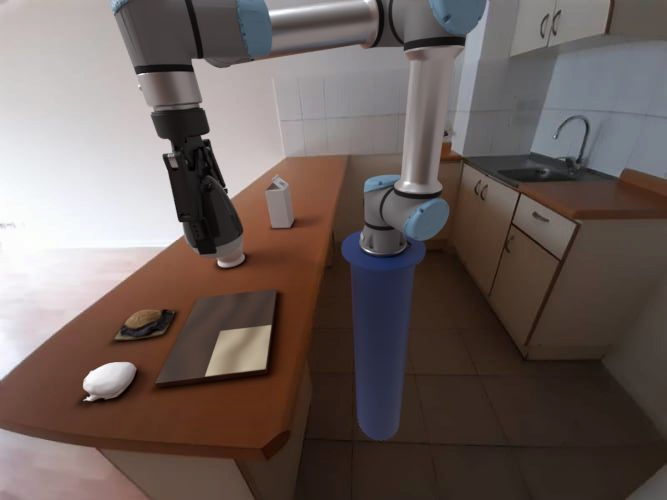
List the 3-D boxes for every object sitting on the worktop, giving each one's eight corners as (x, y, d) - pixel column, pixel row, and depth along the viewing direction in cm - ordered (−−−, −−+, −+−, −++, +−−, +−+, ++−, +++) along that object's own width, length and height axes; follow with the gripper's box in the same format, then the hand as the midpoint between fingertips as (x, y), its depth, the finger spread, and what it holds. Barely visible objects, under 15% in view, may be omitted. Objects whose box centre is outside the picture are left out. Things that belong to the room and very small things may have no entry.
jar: (217, 255, 92) (203, 213, 84) (249, 250, 93) (238, 208, 86) (212, 272, 83) (195, 227, 75) (247, 267, 84) (235, 222, 77)
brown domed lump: (113, 343, 61) (105, 332, 59) (133, 316, 68) (126, 305, 66) (163, 337, 62) (156, 325, 60) (177, 311, 69) (171, 299, 67)
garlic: (78, 404, 49) (66, 391, 47) (103, 370, 55) (94, 358, 53) (124, 400, 49) (114, 387, 47) (144, 367, 55) (136, 354, 53)
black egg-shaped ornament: (209, 272, 48) (178, 186, 40) (183, 254, 54) (153, 176, 46) (258, 248, 54) (240, 170, 46) (230, 234, 60) (210, 163, 53)
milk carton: (272, 228, 107) (262, 179, 97) (277, 220, 113) (268, 174, 103) (289, 228, 106) (282, 179, 96) (294, 220, 112) (287, 173, 102)
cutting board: (277, 293, 72) (276, 288, 72) (267, 374, 52) (265, 368, 51) (199, 301, 71) (197, 296, 71) (157, 388, 51) (154, 382, 50)
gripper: (181, 105, 51) (215, 216, 62) (102, 115, 32) (171, 274, 43) (222, 102, 51) (248, 213, 63) (169, 110, 32) (220, 270, 43)
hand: (217, 238), depth 53 cm, fingers closed on black egg-shaped ornament, 10 cm apart
